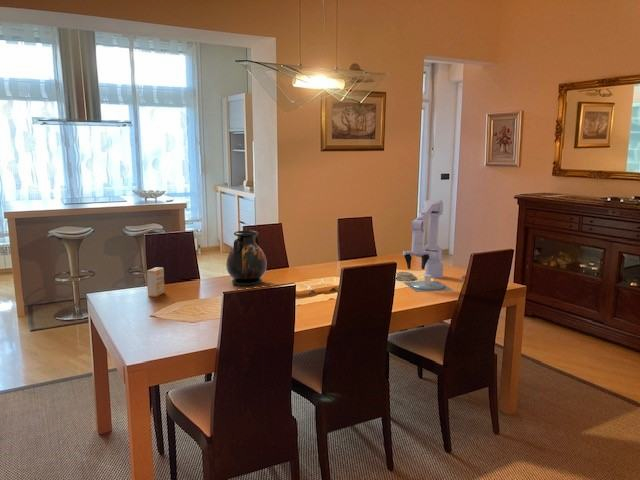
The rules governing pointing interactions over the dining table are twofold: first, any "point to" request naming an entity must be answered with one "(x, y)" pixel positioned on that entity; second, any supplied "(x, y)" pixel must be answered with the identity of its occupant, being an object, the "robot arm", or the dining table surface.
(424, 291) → the mat
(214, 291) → the dining table surface
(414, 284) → the lid
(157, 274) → the supplement box
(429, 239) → the robot arm
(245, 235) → the amphora vase
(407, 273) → the decorative bowl
